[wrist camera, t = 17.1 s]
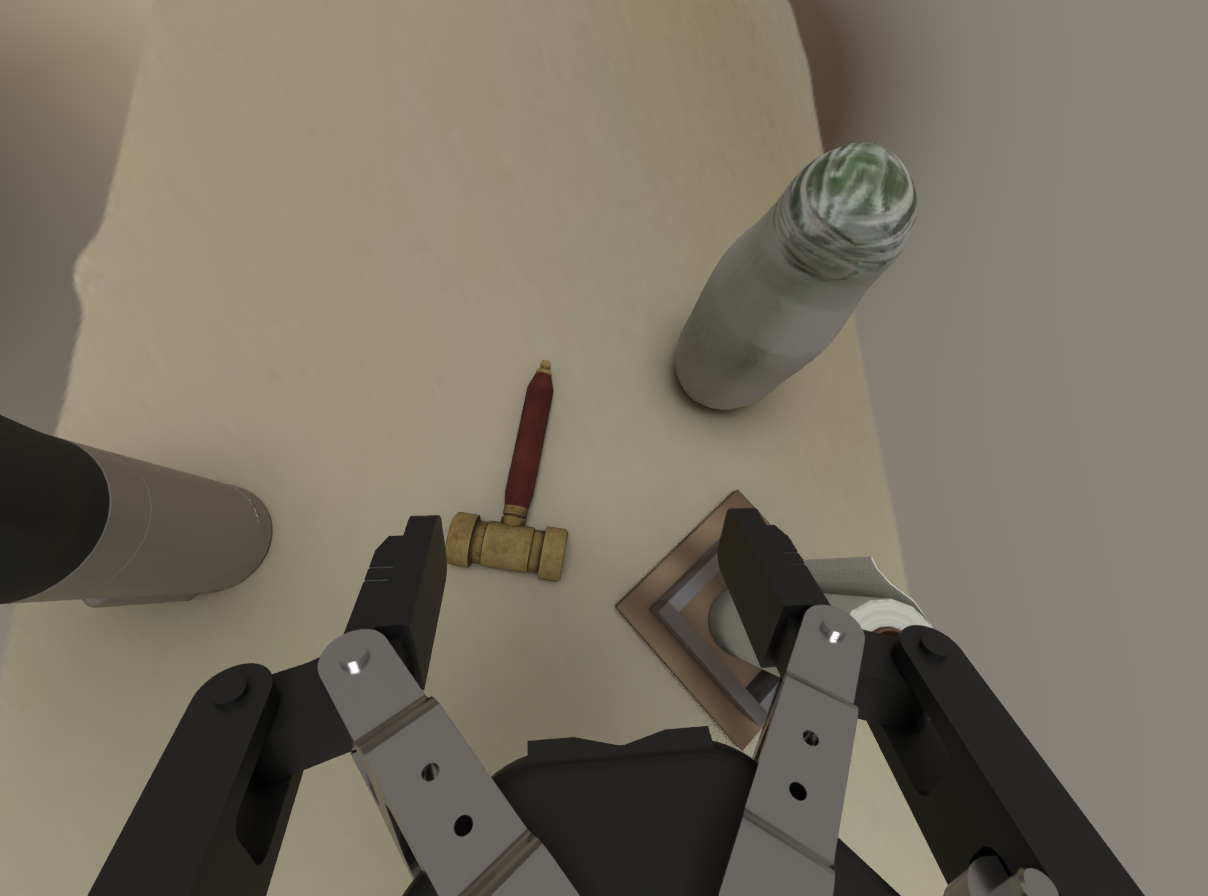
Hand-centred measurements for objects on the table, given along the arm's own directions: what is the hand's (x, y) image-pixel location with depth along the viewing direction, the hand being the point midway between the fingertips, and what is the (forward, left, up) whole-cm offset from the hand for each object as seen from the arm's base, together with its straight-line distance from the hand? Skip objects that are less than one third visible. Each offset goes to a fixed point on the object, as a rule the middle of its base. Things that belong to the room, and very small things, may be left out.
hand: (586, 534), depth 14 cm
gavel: (+4, +9, -35) cm, 36 cm away
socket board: (+9, -14, -34) cm, 38 cm away
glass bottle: (+24, +4, -34) cm, 42 cm away
